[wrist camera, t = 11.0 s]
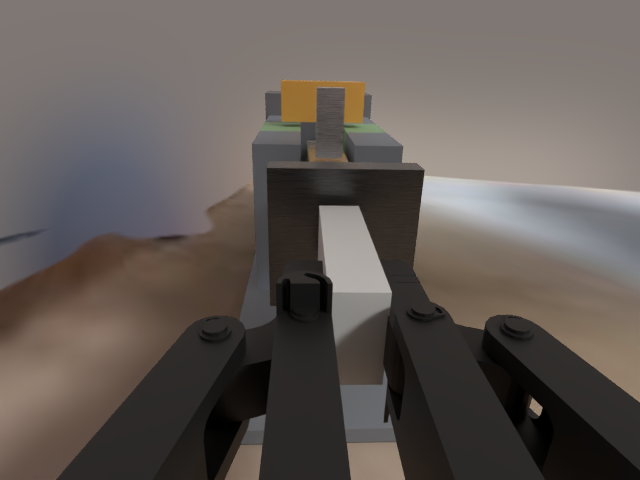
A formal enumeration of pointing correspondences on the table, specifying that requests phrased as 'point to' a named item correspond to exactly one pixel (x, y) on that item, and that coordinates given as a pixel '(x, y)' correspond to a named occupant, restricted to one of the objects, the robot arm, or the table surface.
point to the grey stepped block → (269, 145)
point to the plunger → (338, 195)
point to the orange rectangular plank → (302, 100)
